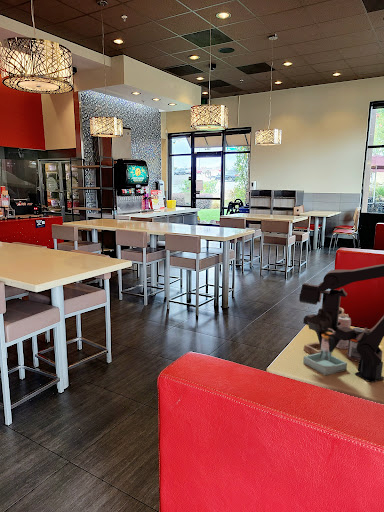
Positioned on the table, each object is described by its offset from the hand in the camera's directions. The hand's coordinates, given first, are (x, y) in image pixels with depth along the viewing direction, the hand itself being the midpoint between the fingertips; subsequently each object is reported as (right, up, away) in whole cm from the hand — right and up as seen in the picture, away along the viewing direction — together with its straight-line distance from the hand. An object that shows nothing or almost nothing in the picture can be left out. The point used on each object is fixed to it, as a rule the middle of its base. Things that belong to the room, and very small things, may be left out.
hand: (326, 350), depth 132 cm
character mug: (+12, -2, +28) cm, 31 cm away
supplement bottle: (+14, -5, +9) cm, 17 cm away
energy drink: (+13, -4, +19) cm, 23 cm away
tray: (0, -6, +1) cm, 6 cm away
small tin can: (0, -3, 0) cm, 3 cm away
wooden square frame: (+1, -4, +13) cm, 14 cm away
